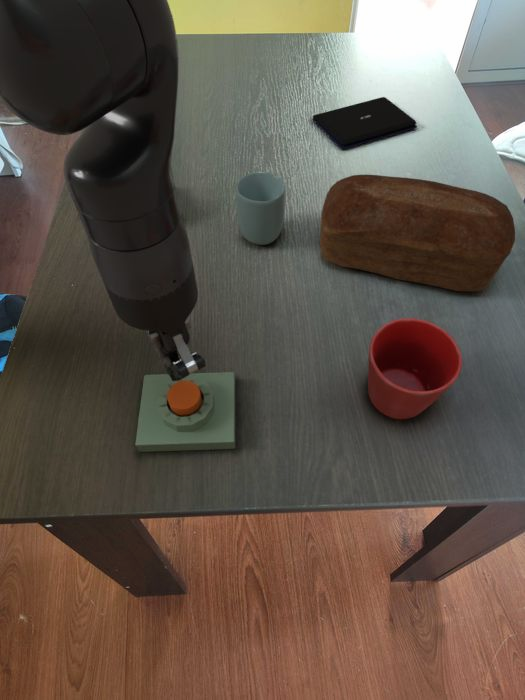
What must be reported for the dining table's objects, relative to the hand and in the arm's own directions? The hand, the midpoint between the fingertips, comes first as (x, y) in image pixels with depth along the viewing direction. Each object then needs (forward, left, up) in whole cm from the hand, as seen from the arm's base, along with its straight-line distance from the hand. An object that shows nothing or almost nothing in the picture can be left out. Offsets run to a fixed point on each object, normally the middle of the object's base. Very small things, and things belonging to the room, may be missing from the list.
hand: (178, 373), depth 52 cm
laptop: (+63, +42, -10) cm, 76 cm away
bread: (+43, +7, -10) cm, 45 cm away
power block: (0, 0, -10) cm, 10 cm away
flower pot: (+25, -12, -10) cm, 29 cm away
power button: (0, 0, -7) cm, 7 cm away
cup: (+26, +24, -10) cm, 37 cm away
